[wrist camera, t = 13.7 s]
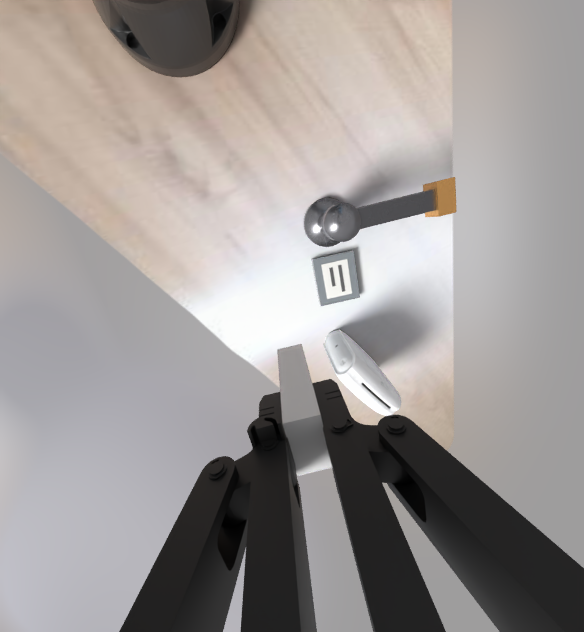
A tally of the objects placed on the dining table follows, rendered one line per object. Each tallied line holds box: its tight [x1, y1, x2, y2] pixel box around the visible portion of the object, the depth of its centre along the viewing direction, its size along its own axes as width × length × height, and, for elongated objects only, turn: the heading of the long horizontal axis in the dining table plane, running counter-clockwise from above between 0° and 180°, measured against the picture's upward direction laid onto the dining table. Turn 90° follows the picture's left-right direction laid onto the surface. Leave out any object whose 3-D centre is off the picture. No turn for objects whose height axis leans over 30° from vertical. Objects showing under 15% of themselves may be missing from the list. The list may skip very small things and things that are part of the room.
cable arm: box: [321, 177, 456, 242], centre depth 32 cm, size 14×4×3 cm, turn 103°
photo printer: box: [323, 330, 401, 416], centre depth 40 cm, size 10×4×12 cm, turn 46°
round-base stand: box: [304, 198, 342, 247], centre depth 36 cm, size 6×6×7 cm
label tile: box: [312, 250, 360, 306], centre depth 42 cm, size 7×6×1 cm
